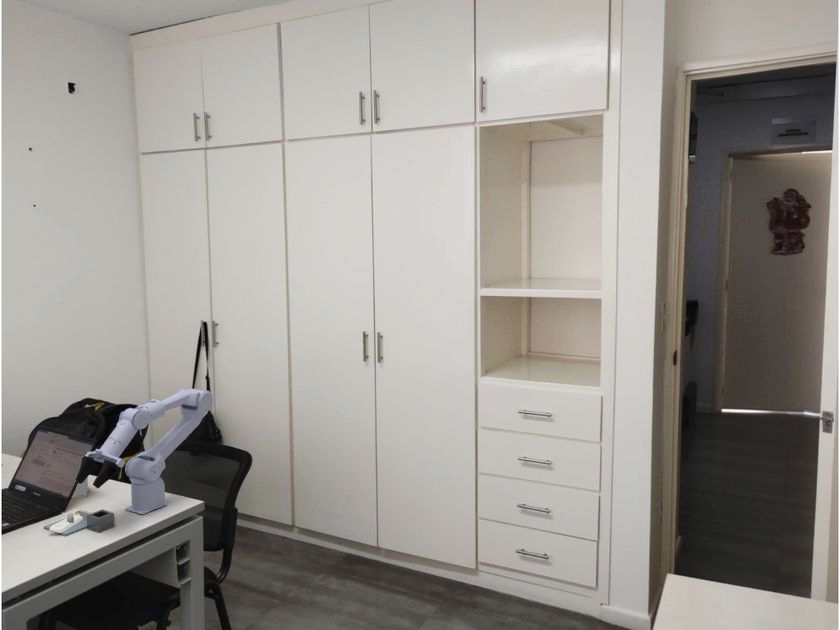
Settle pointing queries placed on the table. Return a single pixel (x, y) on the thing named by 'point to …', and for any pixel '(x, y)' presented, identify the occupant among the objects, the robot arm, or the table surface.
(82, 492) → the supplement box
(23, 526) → the table surface
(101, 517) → the grey open box
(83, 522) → the keeper
